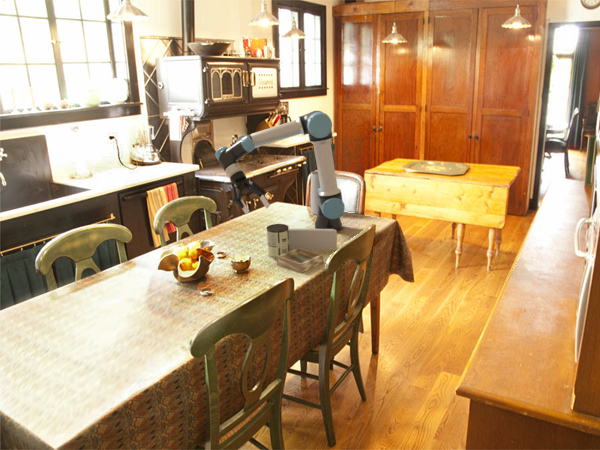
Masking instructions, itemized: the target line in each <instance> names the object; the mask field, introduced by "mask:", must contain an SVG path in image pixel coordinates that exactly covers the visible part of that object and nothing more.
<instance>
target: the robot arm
mask: <svg viewBox="0 0 600 450" xmlns="http://www.w3.org/2000/svg"><path fill="white" fill-rule="evenodd" d="M332 128H333V123H332V119H331V118H330V116H329V115H328V114H327V113H325V112H323V111H321V110H313V111H309V112H308V113H306V114H304V115H301V116H298V117H297V118H296V119H295V120H291V121H288V122H285V123H282V124H279V125H275V126H272V127H268V128H266V129H263V130H258V131H256V132H253V133H251V134H247V135H241V136H239V137H237V139H236V141H235V143H233V145H231V146H230V147H228V146H225V145H224V146H221V147H219V148H218V149H217V150H216V151H215V153H214V155H215V157H216V159H217V161H218V163H219V165H220V166H221V168H222V169H223V170H224V172H225V174H226V175H227V177H228V178H229V180H230V182H231V184H230V186H229V188H230V192H231V193H230V194H231V197H232V198H231V200H232V203H233V204H236V205H238V206H239V208H240V209H241V210H242V211H243V212H244V214H245V215H248V214H249V213H250V209H249V208H248V206H247V205H246V203H245V201H244V200H243V199H242V194H243V192H247V191H248V192H251V193H253V194H255V195H256V196H257V197H259V199H260V201H261V203H262V204H263V206H264V207H265V209H268V208H270V206H271V204H270V203H269V201H268V198H267V197H266V194H267V191H266V190H265V189H263V187H261V186H260V185H259V184H258V183H256V182H255V181H254V179H253V178H252V179H250V180H248V179H247V175H246V174H245V172H244V171H243V168H242V167H241V166H240V165H239V163H238V162H239V160H241V159H242V158H243V157H245V156H246V155H247V154H249V153H251V152H253V150H255V149H256V148H259V147H262V146H266V145H271V144H273V143H276V142H279V141H282V140H283V141H284V140H285V139H286V140H287V139H289V138H292V137H296V136H299V135H302V136H305V135H308V138H309V142H310V143H311V144H312V145H313V149H314V150H313V151H314V156H315V157H314V158H315V162H316V168H317V171H318V175H319V181H320V187H321V188H319V189H318V193H317V194H318V215H316V216H317V217H316V220H315V223H314V229H335V230H337V232H340V231H341V230H342V229H343V223H342V220H341V216H342V215H343V214H344V212H345V209H346V208H345V207H346V205H345V203H344V201H343V195H342V190H341V189H340V188H339V187H338V182H337V175H336V170H335V169H336V168H335V163H334V157H333V151H332V149H333V148H332V143H331V141H332V140H333V138H334V137H333V129H332Z"/></svg>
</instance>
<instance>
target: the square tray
mask: <svg viewBox="0 0 600 450" xmlns="http://www.w3.org/2000/svg"><path fill="white" fill-rule="evenodd" d="M323 263H324V254H322V253H319V252H315V251H311V250H309V249H302V248H296V249H290V250H289V252H287V253H284V254H282V255H279V256H277V257H276V266H280V267H283V268H285V269H288V270H291V271H294V272H297V273H300V272H301V274H303V273H305V272H306V271H309V270H311V269H313V268H316V267H317V266H321V265H322V264H323ZM304 271H305V272H304ZM302 272H303V273H302Z"/></svg>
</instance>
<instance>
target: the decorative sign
mask: <svg viewBox="0 0 600 450" xmlns="http://www.w3.org/2000/svg"><path fill="white" fill-rule="evenodd" d="M288 234H289V250H294V249H296V248H302V249H305V250H309V251H311V250H313V251H314V250H315V251H316V250H317V251H318V250H320V251H335V250H337V247H338V239H337V238H338V235H337V234H338V231H337V230H335V229H315V228H296V227H295V228H288Z"/></svg>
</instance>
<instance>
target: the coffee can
mask: <svg viewBox="0 0 600 450" xmlns="http://www.w3.org/2000/svg"><path fill="white" fill-rule="evenodd" d="M288 228H289V225H287V224H283V223H272V224H269V225H267V227H266V236H267V237H266V238H267V257H269V258H270V259H276V257H277V256H279V255H282V254H284V253H287V252H289V251H290V249H289V234H288ZM276 260H277V259H276Z"/></svg>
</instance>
